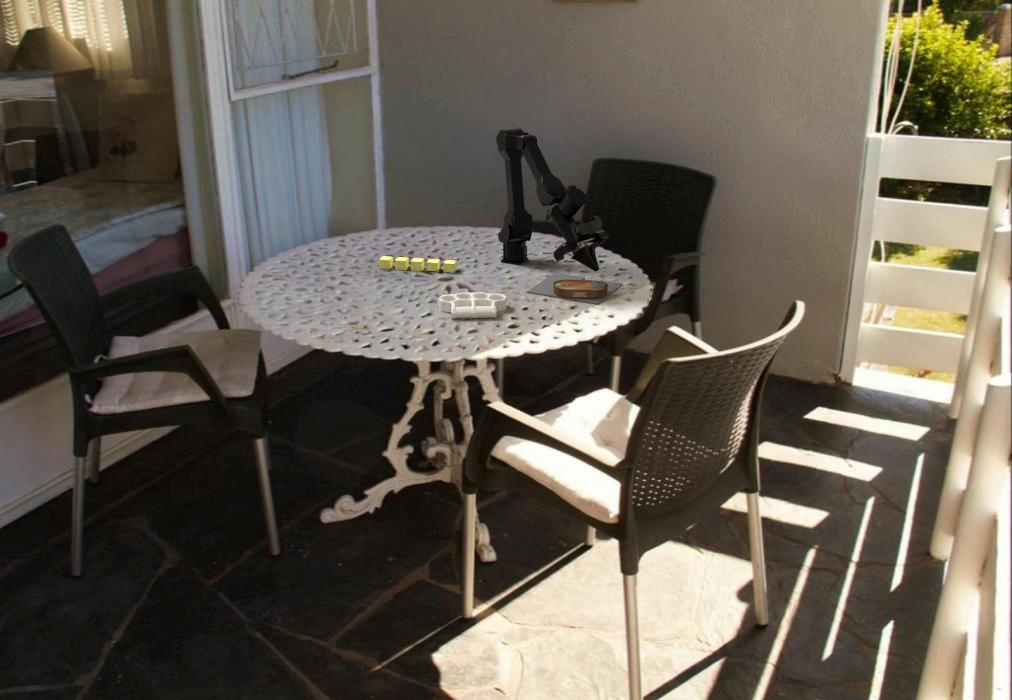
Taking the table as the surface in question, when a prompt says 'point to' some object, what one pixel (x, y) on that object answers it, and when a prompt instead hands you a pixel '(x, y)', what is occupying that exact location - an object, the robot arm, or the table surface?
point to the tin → (580, 288)
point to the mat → (547, 284)
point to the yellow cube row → (416, 264)
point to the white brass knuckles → (473, 304)
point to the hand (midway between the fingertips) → (597, 270)
